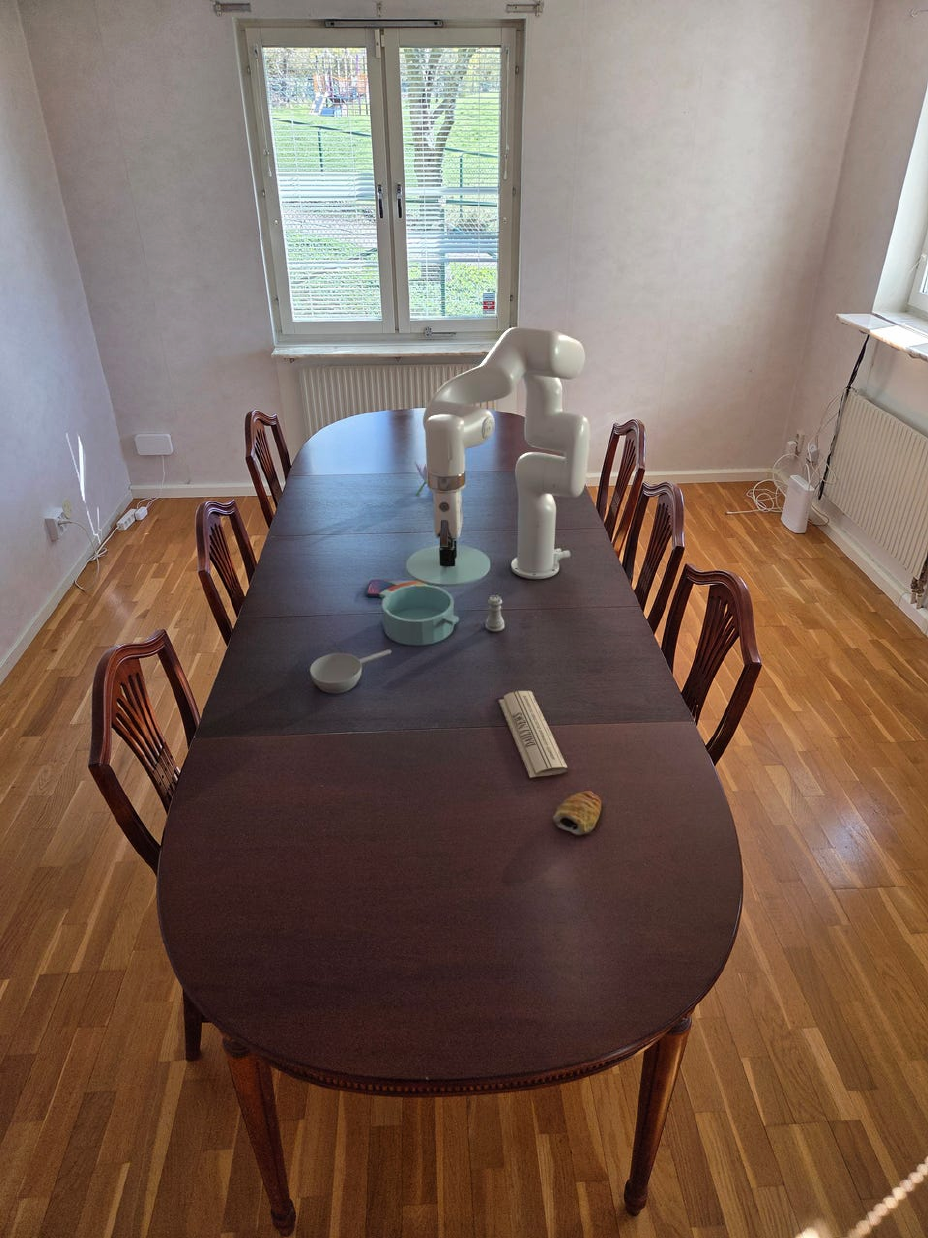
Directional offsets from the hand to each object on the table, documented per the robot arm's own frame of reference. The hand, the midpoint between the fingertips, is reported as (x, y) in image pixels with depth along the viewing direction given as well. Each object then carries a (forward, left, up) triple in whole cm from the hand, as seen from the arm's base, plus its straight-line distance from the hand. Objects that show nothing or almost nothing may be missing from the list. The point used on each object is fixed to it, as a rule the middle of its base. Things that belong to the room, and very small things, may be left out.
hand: (448, 560), depth 170 cm
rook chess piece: (-14, -6, -23) cm, 28 cm away
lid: (0, 0, -1) cm, 1 cm away
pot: (+2, -14, -23) cm, 27 cm away
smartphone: (+1, -32, -23) cm, 39 cm away
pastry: (-1, +55, -23) cm, 60 cm away
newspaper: (-4, +32, -23) cm, 40 cm away
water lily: (-30, -87, -23) cm, 94 cm away
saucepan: (+22, -1, -23) cm, 32 cm away
